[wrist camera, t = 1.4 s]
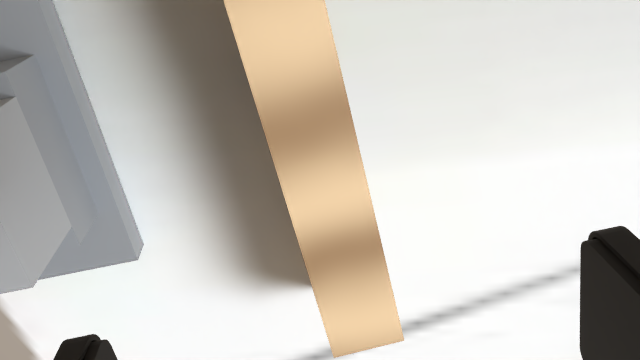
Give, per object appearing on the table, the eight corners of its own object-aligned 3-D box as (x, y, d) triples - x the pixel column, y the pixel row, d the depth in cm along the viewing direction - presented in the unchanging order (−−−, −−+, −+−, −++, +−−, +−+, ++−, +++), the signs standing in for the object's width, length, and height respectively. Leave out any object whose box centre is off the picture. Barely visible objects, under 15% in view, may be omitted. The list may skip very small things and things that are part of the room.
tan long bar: (181, -190, 23) (154, -223, 17) (266, -214, 23) (264, -255, 17) (323, 285, 33) (334, 357, 28) (382, 270, 33) (404, 340, 28)
